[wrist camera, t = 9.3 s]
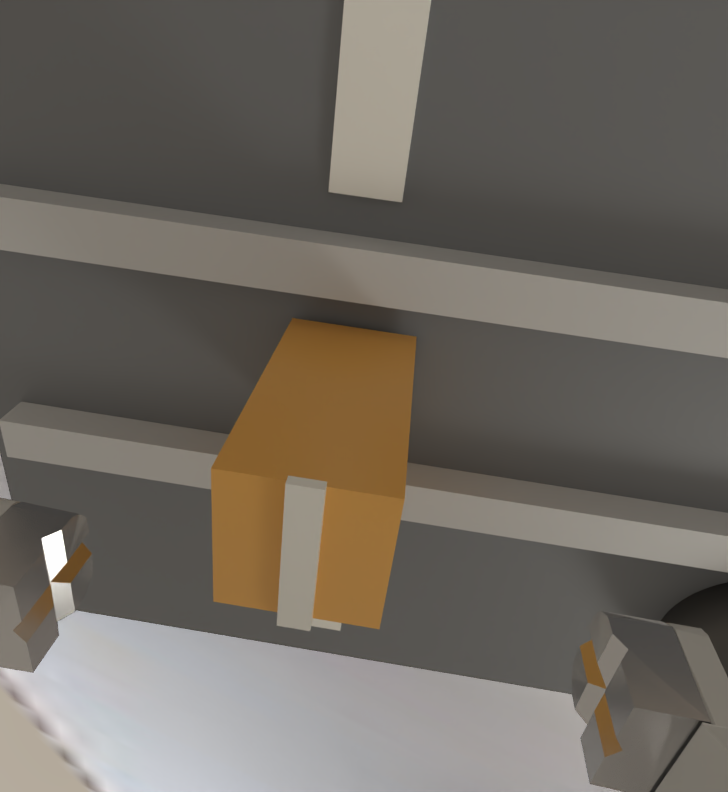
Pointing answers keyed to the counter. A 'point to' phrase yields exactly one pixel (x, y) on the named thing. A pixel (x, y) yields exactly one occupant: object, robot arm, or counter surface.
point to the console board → (381, 297)
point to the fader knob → (316, 478)
